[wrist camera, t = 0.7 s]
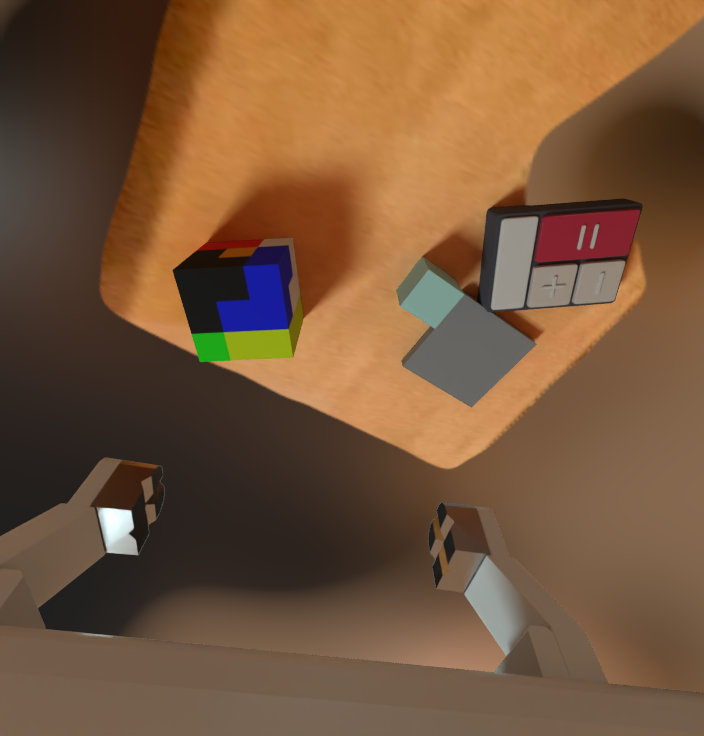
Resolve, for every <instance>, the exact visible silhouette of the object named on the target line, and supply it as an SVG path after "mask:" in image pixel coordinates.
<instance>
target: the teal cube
mask: <svg viewBox="0 0 704 736" xmlns="http://www.w3.org/2000/svg"><path fill="white" fill-rule="evenodd" d="M396 291H397V295H398V300H399V304H400V307H402V308H403V309H405V310H407V311H408V312H410V313H411V314H413V315H414V316H416V317H417V318H419V319H420V320H422V321H424V322H425V323H427V324H428V325H430V326H431V327H433V328H434V329H435V328H436V327H437V326H438V325H439V324H440V322H441V321H442V320H443V319H444V318H445V317H446V315H447V314H448V313H449V312H450V311H451V310H452V308H453V307H454V306H455V305H456V304H457V303H458V302H459V300H460V299H461V298H462V297H463V296H464V293H463V291H462V290H461V288H460V286H459V285H458V283H457V282H456V280H455V279H454V278H453V277H451V276H450V275H448V274H447V273H445V272H444V271H443V270H441V269H440V268H438V267H437V266H436V265H434V264H433V263H431V262H430V261H429V260H427V259H426V258H424V257H423V256H422V257H421V259H420V260H419V261H418V263H417V264H416V265H415V266H414V268H413V269H412V270H411V272H410V273H409V274H408V276H407V277H406V278H405V280H404V281H403V282H402V284H401V285H400V286H399V288H398V289H397V290H396Z"/></svg>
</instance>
